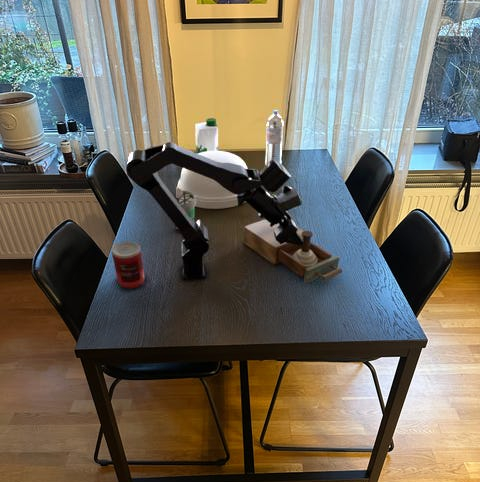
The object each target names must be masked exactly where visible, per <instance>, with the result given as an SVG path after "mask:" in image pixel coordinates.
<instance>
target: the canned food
mask: <svg viewBox="0 0 480 482" xmlns="http://www.w3.org/2000/svg"><path fill="white" fill-rule="evenodd" d="M111 254H112V260H113V264H114V270H115V274H116V280H117V282H118V284H119V286H121V287H122V288H124V289H136V288H139V287H141V286H142V285H143V284H144V283H145V278H146V276H145V271H144V264H143V257H142V251H141V247H140V245H139V244H138V243H137V242H134V241H121V242H119V243H118V242H117V243H115V244H114V245H113V246H112V248H111Z"/></svg>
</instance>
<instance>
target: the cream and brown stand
mask: <svg viewBox="0 0 480 482" xmlns="http://www.w3.org/2000/svg"><path fill="white" fill-rule="evenodd" d="M302 236H303V239H302V240H303V242H304V244H303V245H302V248H301V249H299V250H298V251H297V252H295V253H294V254H293V255H292V257H294V258H295V259H297V260H298V261H300V262H301V263H303V264H304V265H306V268H309V267H311V266H313V265H315V264H317V262H318V259H317V257H316V256H315V254H314V253H313V252H312V251H311V250H310V242H312V237H313V236H314V233H313V232H312V231H310V230H303V232H302Z"/></svg>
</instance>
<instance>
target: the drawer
mask: <svg viewBox="0 0 480 482" xmlns="http://www.w3.org/2000/svg"><path fill="white" fill-rule="evenodd" d="M301 248H302V246H301V245H296V244H289V245H286V246H284V247H281V248H279V249H277V260H279V261H280V263H281V264H283V265H284V266H286V267H287V268H288V269H290V270H291V271H293V272H294V273H295V274H297V275H299V276H300V277H302V278H303V282H304V283H306V284H308V283H310V282H313V281H315V280H317V279H319V278H320V279H321V281H322V282H325V281H328V280H330V279H331V278H334V277H336V276H338V275H340V274H342V273H343V269H342V268H340V267H339V264H340V263H339V261H340V256H339V255H338V254H337V255H334V256H332V253H330V252H329V251H327V250H325V249H323V247H320V246H319V245H317V244H316V243H314V242H312V241H311V242H310V250H311V251H312V252H313V253H314V254H315V256H316V257H317V259H318V262H317V264H315V265H313V266H311V267H309V268H306V265H304V264H303V263H301V262H300V261H298V260H297V259H295V258H294V257H292V255H293V254H294V253H295V252H297V251H298V250H299V249H301Z"/></svg>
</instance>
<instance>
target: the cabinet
mask: <svg viewBox="0 0 480 482" xmlns="http://www.w3.org/2000/svg"><path fill="white" fill-rule="evenodd" d="M278 226H279V223H278V224H275V225H274V226H273V227H271V226H270V225H269V223H268V221H267V220H266V219H265V218H263V219H261V220H260V221H256V222H253V223H250V224H247V225H244V227H243V243H244V245H246V246H247V247H249V248H250V249H252V250H253V251H254V252H256V253H257V254H258V255H260V256H261V257H262V258H264V259H266V260H267V261H268V262H270V263H271V264H272V265H277V264H279V263H281V262H280V261H279V260H277V249H279V248H281V247H284V246H286V245H289V244H291V243H283V244H280V243H279V242H277V241H276V239H275V236H274V229H275V228H277V227H278ZM297 228H298V230H297V233H298V235H299V236H300V237H301V239H303V236H302V232H303V231H304V230H303V229H301V228H300V227H298V226H297Z"/></svg>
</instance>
